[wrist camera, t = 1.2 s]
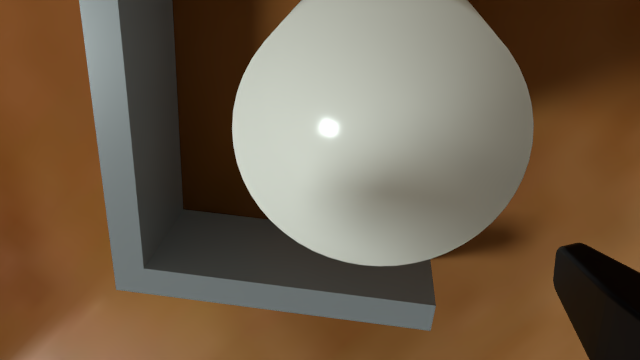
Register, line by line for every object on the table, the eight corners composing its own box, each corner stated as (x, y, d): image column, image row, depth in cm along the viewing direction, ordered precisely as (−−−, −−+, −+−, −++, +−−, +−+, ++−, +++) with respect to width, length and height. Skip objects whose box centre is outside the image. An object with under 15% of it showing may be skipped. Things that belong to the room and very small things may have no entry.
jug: (456, 143, 22) (496, 281, 14) (288, 124, 22) (232, 249, 14) (515, -148, 17) (625, -193, 9) (302, -163, 18) (230, -219, 10)
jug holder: (522, -252, 16) (567, -304, 12) (423, 260, 24) (430, 330, 20) (119, -276, 17) (36, -332, 13) (159, 228, 25) (116, 289, 21)
